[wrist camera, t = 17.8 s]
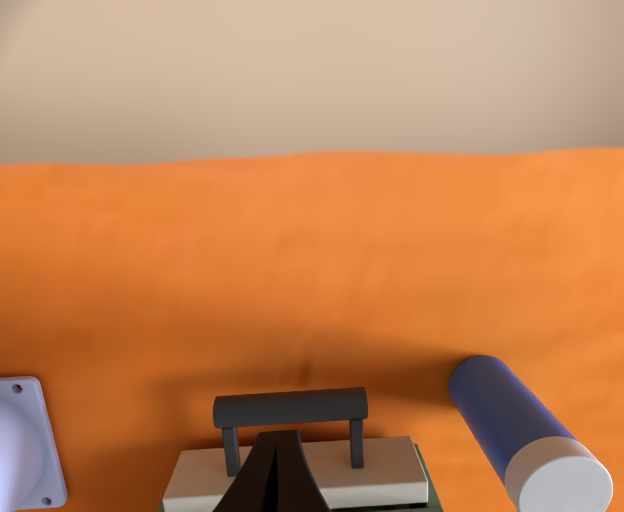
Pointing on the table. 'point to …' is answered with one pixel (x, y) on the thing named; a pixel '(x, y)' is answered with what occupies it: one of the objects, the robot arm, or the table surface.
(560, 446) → the medicine bottle
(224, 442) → the drawer
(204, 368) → the table surface
